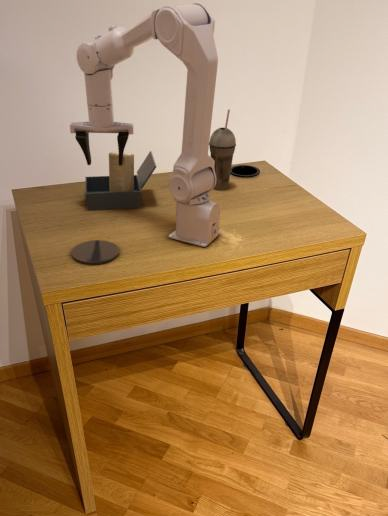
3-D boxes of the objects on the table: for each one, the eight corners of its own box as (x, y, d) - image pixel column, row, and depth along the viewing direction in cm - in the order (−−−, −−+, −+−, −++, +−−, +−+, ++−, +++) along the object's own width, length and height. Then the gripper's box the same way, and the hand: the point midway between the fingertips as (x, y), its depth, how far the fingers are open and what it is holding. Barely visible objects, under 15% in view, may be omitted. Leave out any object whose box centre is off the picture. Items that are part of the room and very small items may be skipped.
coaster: (127, 249, 108) (127, 246, 108) (101, 269, 101) (100, 266, 101) (90, 238, 111) (90, 236, 111) (62, 257, 104) (61, 254, 104)
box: (134, 198, 129) (135, 154, 123) (124, 201, 126) (125, 156, 120) (118, 193, 131) (118, 150, 125) (108, 197, 128) (108, 152, 122)
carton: (137, 190, 134) (137, 174, 132) (141, 207, 125) (141, 191, 123) (87, 192, 132) (85, 176, 130) (87, 210, 123) (85, 193, 121)
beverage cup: (202, 183, 140) (205, 107, 127) (225, 180, 142) (231, 105, 129) (213, 193, 134) (217, 114, 122) (237, 189, 137) (243, 112, 124)
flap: (136, 172, 131) (137, 173, 131) (140, 188, 122) (141, 189, 122) (150, 150, 128) (151, 151, 128) (155, 165, 119) (156, 166, 120)
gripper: (133, 100, 115) (135, 159, 124) (70, 98, 114) (77, 158, 123) (131, 107, 110) (134, 168, 118) (65, 106, 109) (73, 167, 117)
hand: (105, 164), depth 120 cm, fingers open, 7 cm apart
